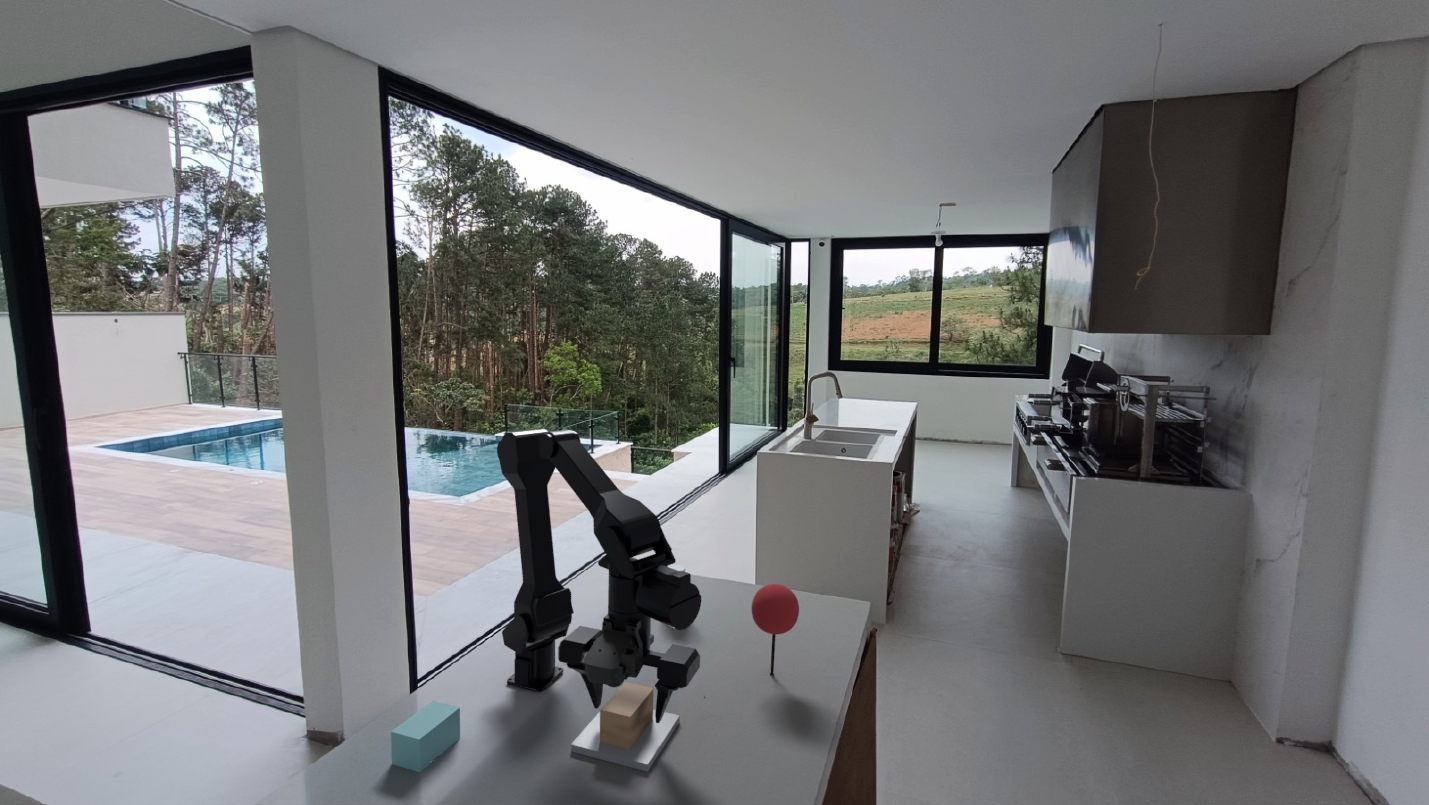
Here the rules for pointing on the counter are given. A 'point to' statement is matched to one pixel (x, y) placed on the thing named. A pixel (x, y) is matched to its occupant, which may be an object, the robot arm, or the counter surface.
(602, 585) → the counter surface
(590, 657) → the robot arm
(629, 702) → the walnut brick
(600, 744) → the base plate
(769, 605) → the lollipop
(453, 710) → the teal brick
